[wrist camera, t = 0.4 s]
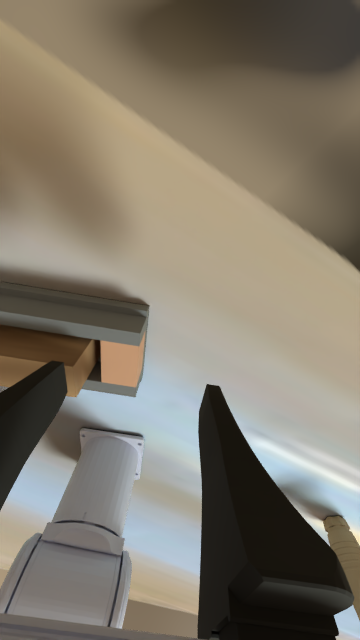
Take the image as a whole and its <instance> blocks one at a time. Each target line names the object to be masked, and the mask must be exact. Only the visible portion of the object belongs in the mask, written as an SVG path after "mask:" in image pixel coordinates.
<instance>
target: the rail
mask: <svg viewBox="0 0 360 640" xmlns="http://www.w3.org/2000/svg"><path fill="white" fill-rule="evenodd" d="M148 315H149V306H147V305H141V304H134V303H128V302H122V301H116V300H110V299H104V298H98V297H91V296H85V295H79V294H73V293H67V292H61V291H55V290H48V289H42V288H36V287H30V286H24V285H18V284H12V283H6V282H0V324H1V325H7V326H13V327H20V328H26V329H32V330H39V331H45V332H51V333H58V334H64V335H70V336H76V337H83V338H89V339H95V340H100V357H99V359H98V361H97V362H96V364H95V366H94V368H93V369H92V371H91V373H90V374H89V376H88V378H87V380H86V381H85V383H84V385H83V386H82V388H81V389H86V390H92V391H99V392H105V393H112V394H118V395H125V396H131V397H136V393H137V390H138V387H139V383H140V382H141V379H142V376H143V367H144V357H145V347H146V336H147V326H148Z"/></svg>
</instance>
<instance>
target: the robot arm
mask: <svg viewBox="0 0 360 640" xmlns="http://www.w3.org/2000/svg"><path fill="white" fill-rule="evenodd" d="M67 392H68V390H67V382H66V374H65V366H64V362H59V361H53V360H52V361H50V362H48V363H47V364H45V365H44V366H42V367H41V368H39V369H37V370H36V371H34V372H33V373H31V374H30V375H28V376H27V377H25V378H24V379H22V380H20V381H19V382H17V383H16V384H14V385H12V386H11V387H9V388H8V389H6V390H4V391H3V392H1V393H0V510H1V508H2V506H3V504H4V502H5V500H6V498H7V496H8V494H9V492H10V490H11V488H12V487H13V485H14V483H15V481H16V479H17V477H18V475H19V473H20V471H21V470H22V468H23V466H24V464H25V462H26V461H27V459H28V457H29V456H30V454H31V453H32V451H33V450H34V448H35V447H36V445H37V443H38V442H39V440H40V439H41V437H42V436H43V434H44V433H45V431H46V430H47V428H48V427H49V425H50V423H51V422H52V420H53V419H54V417H55V416H56V414H57V412H58V411H59V409H60V407H61V405H62V403H63V401H64V399H65V396H66V394H67ZM79 433H80V443H81V455H80V458H79V460H78V462H77V465H76V467H75V469H74V471H73V474H72V476H71V478H70V481H69V483H68V485H67V487H66V490H65V492H64V494H63V497H62V499H61V501H60V504H59V506H58V508H57V510H56V513H55V515H54V517H53V520H52V522H51V523H50V522H48V523H47V525H46V528H45V530H44V532H43V534H41V533H36V534H34V535H33V537H31V538H30V539H28V540H27V541H26V542H25V543H24V545H23V546H22V548H21V549H20V551H19V553H18V555H17V556H16V558H15V560H14V562H13V564H12V566H11V568H10V570H9V572H8V574H7V576H6V578H5V580H4V582H3V584H2V586H1V588H0V640H336V638H335V636H338V635H339V631H338V628H337V625H336V622H335V619H334V616H333V615H335V614H337V613H339V612H341V611H343V610H345V609H347V608H349V607H350V606H352V604H353V601H354V598H355V597H354V595H353V592H352V590H351V587H350V585H349V582H348V579H347V577H346V574H345V572H344V570H343V568H342V565H341V563H340V561H339V559H338V557H337V555H336V553H335V552H334V551H333V549H332V548H331V547H330V546H329V545H328V544H327V543H326V542H325V541H324V540H323V539H322V538H321V537H320V536H319V535H318V533H317V532H316V531H315V530H314V529H313V528H312V527H311V526H310V525H309V524H308V523H307V522H306V520H305V519H304V518H303V517H302V516H301V515H300V513H299V512H298V511H297V510H296V509H295V508H294V506H293V505H292V504H291V503H290V501H289V500H288V499H287V498H286V496H285V495H284V494H283V493H282V491H281V490H280V489H279V488H278V486H277V485H276V484H275V482H274V481H273V480H272V478H271V477H270V476H269V474H268V473H267V471H266V470H265V469H264V467H263V466H262V464H261V463H260V461H259V460H258V458H257V457H256V455H255V454H254V452H253V451H252V449H251V448H250V446H249V444H248V443H247V441H246V439H245V437H244V436H243V434H242V432H241V430H240V429H239V427H238V425H237V423H236V421H235V419H234V417H233V415H232V413H231V411H230V409H229V407H228V405H227V403H226V400H225V398H224V396H223V393H222V391H221V388H220V387H219V386H215V385H209V384H207V385H206V389H205V393H204V396H203V400H202V403H201V407H200V410H199V430H198V433H199V448H200V462H201V476H202V531H201V565H200V590H199V612H198V639H197V638H188V637H181V636H173V635H166V634H158V633H150V632H143V631H135V630H127V629H122V625H123V621H124V616H125V611H126V606H127V601H128V595H129V589H130V581H131V571H132V563H131V560H130V557H129V553H128V552H127V551H122V550H123V545H124V540H125V539H124V538H122V534H123V530H124V525H125V520H126V516H127V511H128V506H129V502H130V497H131V492H132V488H133V483H134V479H135V480H138V479H139V478H140V471H141V463H142V455H143V447H144V438H143V437H139V436H132V435H126V434H119V433H112V432H106V431H99V430H93V429H86V428H82V429H81V430H80V432H79Z"/></svg>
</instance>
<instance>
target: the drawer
mask: <svg viewBox="0 0 360 640" xmlns="http://www.w3.org/2000/svg"><path fill="white" fill-rule="evenodd" d="M99 357H100V340H95V339H89V338H83V337H76V336H70V335H64V334H58V333H51V332H45V331H39V330H32V329H26V328H20V327H13V326H7V325H1V324H0V386H5V387H11V386H12V385H14V384H16V383H17V382H19V381H20V380H22V379H24V378H25V377H27V376H28V375H30V374H31V373H33V372H34V371H36V370H37V369H39V368H41V367H42V366H44V365H45V364H47V363H48V362H50V361H52V360H53V361H59V362H64V366H65V374H66V382H67V390H68V392H67V394H66V396H70V397H77V395H78V393H79V392H80V390H81V388H82V386H83V385H84V383H85V381H86V380H87V378H88V376H89V374H90V373H91V371H92V369H93V368H94V366H95V364H96V362H97V361H98V359H99Z"/></svg>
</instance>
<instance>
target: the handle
mask: <svg viewBox="0 0 360 640" xmlns="http://www.w3.org/2000/svg"><path fill="white" fill-rule="evenodd" d="M323 523H324V527H325V531H326V532H328V539H329V543H330V547H331V548H332V549H333V551H334V552H335V553H336V555H337V557H338V559H339V561H340V563H341V565H342V568H343V570H344V572H345V574H346V577H347V579H348V582H349V585H350V587H351V590H352V592H353V595H354V597H355V598H354V601H353V606H354V608H355V610H356V613H357V615H358V617H359V620H360V546H359V544H358V542H357V541H356V539H355V537H354V535H353V534H352V532H351V531H349V529H350V527H349V526H348V524H347V522H346V520H345V519H344V518H341V517H340V516H334V517H330V516H329V517H327V518H326V520H324V521H323Z"/></svg>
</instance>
